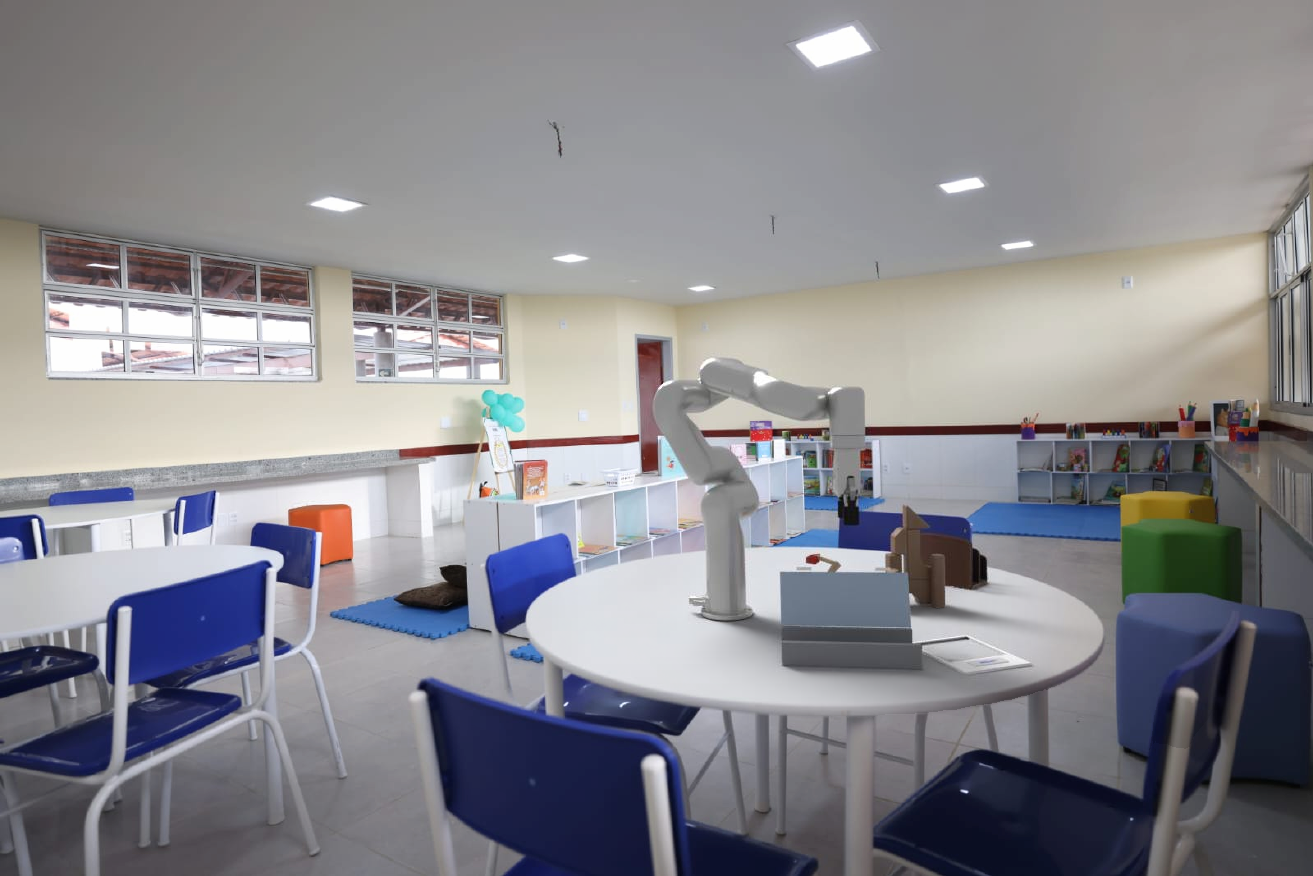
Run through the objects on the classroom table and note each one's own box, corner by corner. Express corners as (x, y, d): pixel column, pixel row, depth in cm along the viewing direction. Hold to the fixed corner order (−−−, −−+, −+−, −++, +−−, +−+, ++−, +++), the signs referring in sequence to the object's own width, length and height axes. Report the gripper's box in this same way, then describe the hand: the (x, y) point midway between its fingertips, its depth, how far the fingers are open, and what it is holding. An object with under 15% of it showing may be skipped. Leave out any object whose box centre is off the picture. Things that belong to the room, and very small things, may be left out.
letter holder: (971, 590, 194) (971, 538, 193) (903, 579, 209) (902, 530, 208) (988, 584, 201) (987, 533, 200) (920, 573, 215) (920, 526, 215)
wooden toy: (886, 611, 176) (884, 508, 176) (875, 604, 183) (874, 505, 182) (947, 608, 178) (946, 506, 177) (935, 601, 184) (933, 502, 183)
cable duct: (782, 665, 141) (781, 642, 141) (781, 647, 152) (781, 625, 152) (922, 669, 137) (922, 645, 137) (911, 650, 148) (911, 628, 148)
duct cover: (779, 567, 153) (779, 567, 155) (781, 625, 151) (781, 625, 153) (908, 567, 149) (906, 568, 151) (912, 628, 147) (910, 627, 149)
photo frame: (965, 671, 134) (906, 642, 151) (965, 677, 134) (906, 647, 151) (1031, 661, 137) (966, 634, 155) (1031, 667, 137) (966, 639, 155)
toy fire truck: (855, 595, 192) (854, 559, 192) (806, 589, 199) (805, 554, 199) (859, 592, 195) (858, 556, 194) (810, 587, 202) (809, 552, 202)
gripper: (825, 441, 167) (826, 515, 168) (834, 445, 150) (835, 528, 151) (859, 441, 167) (859, 515, 167) (871, 445, 149) (872, 528, 150)
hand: (848, 521), depth 159 cm, fingers open, 9 cm apart
